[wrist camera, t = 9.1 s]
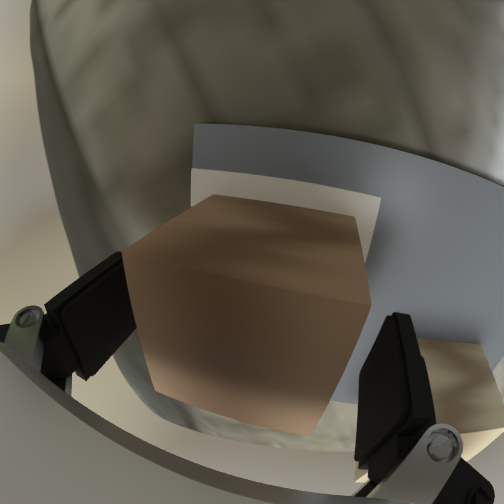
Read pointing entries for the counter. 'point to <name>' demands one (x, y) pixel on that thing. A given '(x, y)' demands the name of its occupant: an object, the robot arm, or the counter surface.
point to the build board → (379, 225)
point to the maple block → (461, 394)
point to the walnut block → (250, 308)
